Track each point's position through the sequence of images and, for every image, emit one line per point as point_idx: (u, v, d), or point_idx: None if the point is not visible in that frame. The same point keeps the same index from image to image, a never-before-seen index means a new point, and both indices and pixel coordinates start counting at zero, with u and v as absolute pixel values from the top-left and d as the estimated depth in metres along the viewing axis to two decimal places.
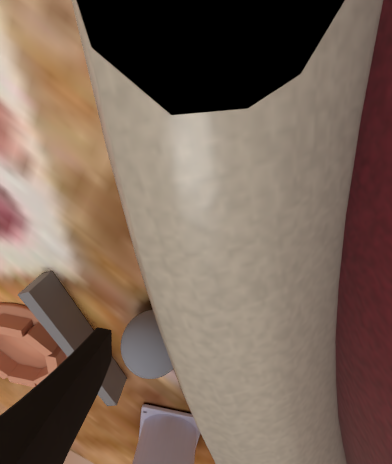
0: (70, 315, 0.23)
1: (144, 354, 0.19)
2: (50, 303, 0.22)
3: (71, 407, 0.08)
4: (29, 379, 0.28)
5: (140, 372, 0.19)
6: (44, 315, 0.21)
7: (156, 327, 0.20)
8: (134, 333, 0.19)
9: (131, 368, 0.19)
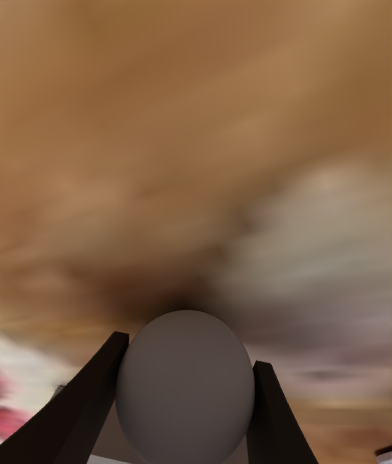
0: (117, 420, 0.15)
1: (133, 433, 0.08)
2: None
3: (94, 412, 0.08)
4: None
5: None
6: None
7: (127, 361, 0.09)
8: (115, 400, 0.09)
9: None
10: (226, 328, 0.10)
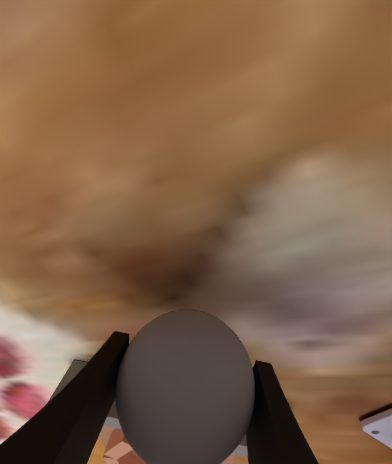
0: None
1: (133, 432, 0.08)
2: None
3: (94, 412, 0.08)
4: None
5: None
6: None
7: (127, 360, 0.09)
8: (115, 400, 0.09)
9: None
10: (226, 328, 0.10)
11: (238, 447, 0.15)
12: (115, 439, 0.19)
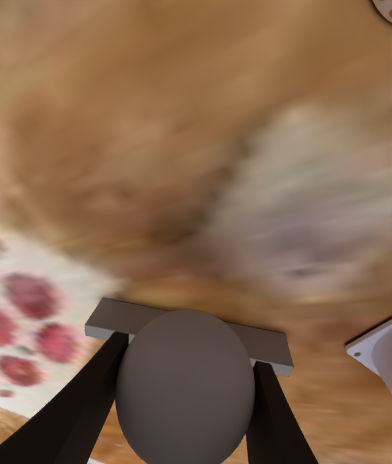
0: (149, 318, 0.20)
1: (133, 432, 0.08)
2: (117, 321, 0.19)
3: (94, 412, 0.08)
4: None
5: None
6: None
7: (127, 360, 0.09)
8: (115, 400, 0.09)
9: None
10: (226, 328, 0.10)
11: None
12: None
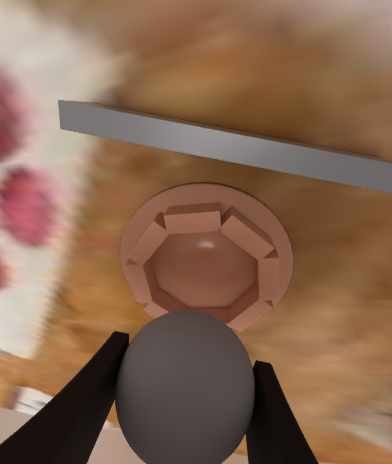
0: (167, 118, 0.12)
1: (133, 433, 0.08)
2: (114, 109, 0.11)
3: (94, 412, 0.08)
4: (253, 302, 0.16)
5: None
6: (114, 116, 0.11)
7: (127, 361, 0.09)
8: (115, 400, 0.09)
9: None
10: (226, 328, 0.10)
11: (329, 159, 0.11)
12: (142, 234, 0.15)
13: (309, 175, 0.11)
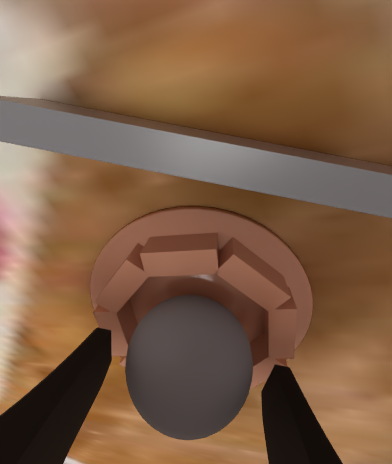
0: (141, 120, 0.09)
1: (144, 400, 0.08)
2: (61, 108, 0.08)
3: (71, 407, 0.08)
4: (261, 360, 0.12)
5: (177, 434, 0.08)
6: (54, 118, 0.07)
7: (137, 338, 0.10)
8: None
9: (169, 436, 0.09)
10: (226, 310, 0.11)
11: (383, 185, 0.07)
12: (114, 274, 0.11)
13: (350, 207, 0.07)
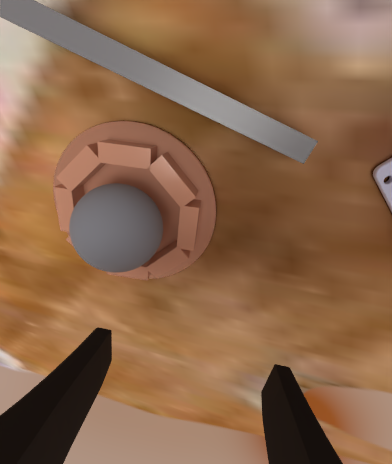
0: None
1: (79, 228, 0.13)
2: None
3: (71, 407, 0.08)
4: (171, 250, 0.17)
5: (97, 254, 0.13)
6: (56, 17, 0.11)
7: (83, 196, 0.14)
8: None
9: (91, 261, 0.13)
10: (151, 199, 0.15)
11: (246, 114, 0.12)
12: None
13: (228, 125, 0.12)
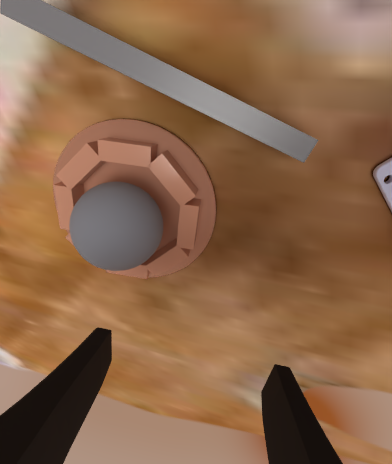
0: None
1: (79, 226, 0.13)
2: None
3: (71, 407, 0.08)
4: (171, 248, 0.17)
5: (97, 252, 0.13)
6: (56, 14, 0.11)
7: (83, 195, 0.14)
8: None
9: (92, 259, 0.13)
10: (151, 197, 0.15)
11: (247, 112, 0.12)
12: None
13: (229, 124, 0.12)
